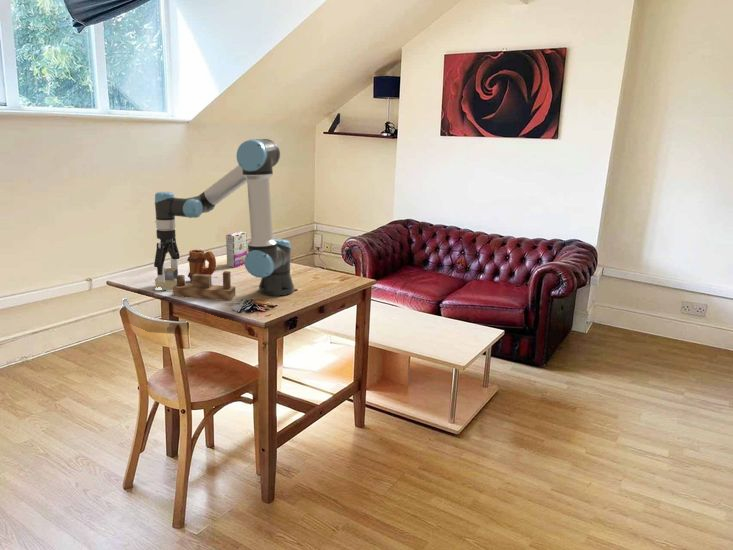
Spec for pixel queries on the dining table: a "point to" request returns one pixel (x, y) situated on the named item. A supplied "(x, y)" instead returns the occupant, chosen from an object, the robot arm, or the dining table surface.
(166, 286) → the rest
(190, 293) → the wooden peg board
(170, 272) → the lever cap
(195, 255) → the mug
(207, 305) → the dining table surface
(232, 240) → the candy bar box
